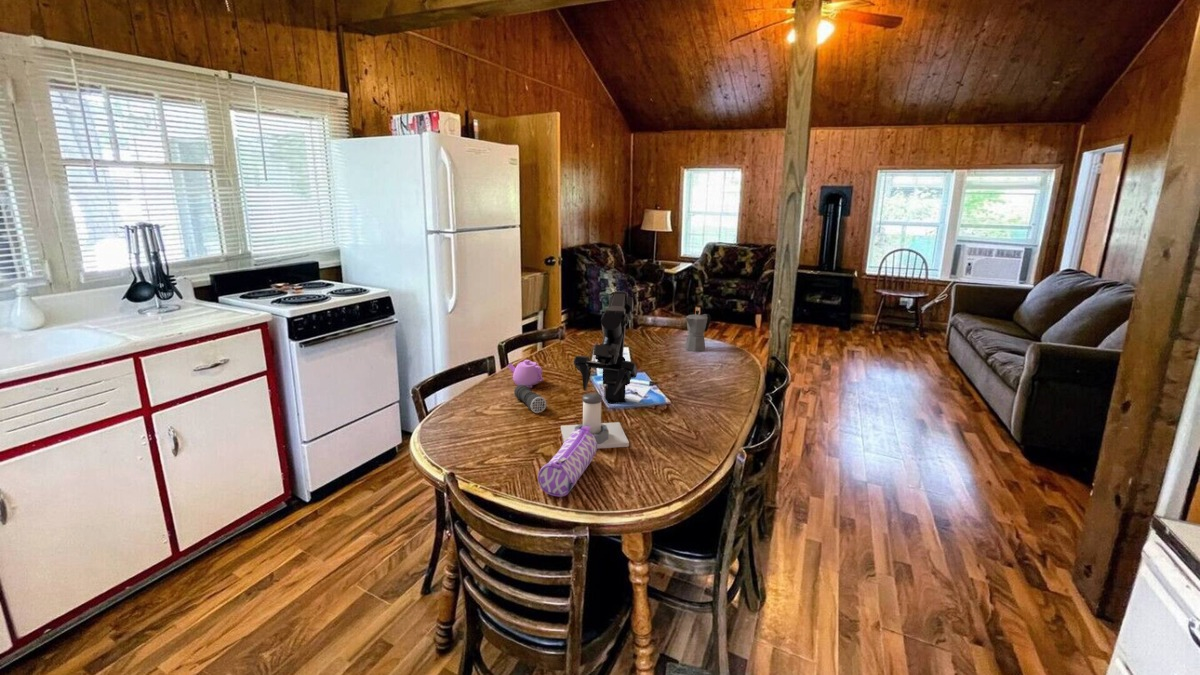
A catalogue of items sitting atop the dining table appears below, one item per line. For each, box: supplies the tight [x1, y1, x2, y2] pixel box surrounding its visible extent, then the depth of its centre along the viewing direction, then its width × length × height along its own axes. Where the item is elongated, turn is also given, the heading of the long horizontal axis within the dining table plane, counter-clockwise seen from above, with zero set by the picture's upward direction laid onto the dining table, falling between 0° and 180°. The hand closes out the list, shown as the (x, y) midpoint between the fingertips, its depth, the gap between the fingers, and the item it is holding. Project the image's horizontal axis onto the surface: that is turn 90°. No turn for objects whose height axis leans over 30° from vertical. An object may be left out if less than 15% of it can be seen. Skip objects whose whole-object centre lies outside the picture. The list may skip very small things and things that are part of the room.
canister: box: [582, 392, 603, 435], centre depth 156 cm, size 5×5×12 cm
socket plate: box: [560, 421, 630, 450], centre depth 160 cm, size 18×14×4 cm
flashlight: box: [514, 385, 547, 414], centre depth 183 cm, size 15×5×5 cm, turn 31°
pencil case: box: [537, 426, 598, 498], centre depth 137 cm, size 22×9×10 cm, turn 163°
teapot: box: [507, 359, 544, 389], centre depth 202 cm, size 10×15×9 cm
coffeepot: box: [684, 310, 712, 353], centre depth 248 cm, size 15×9×18 cm, turn 125°
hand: (599, 392), depth 161 cm, fingers open, 9 cm apart
